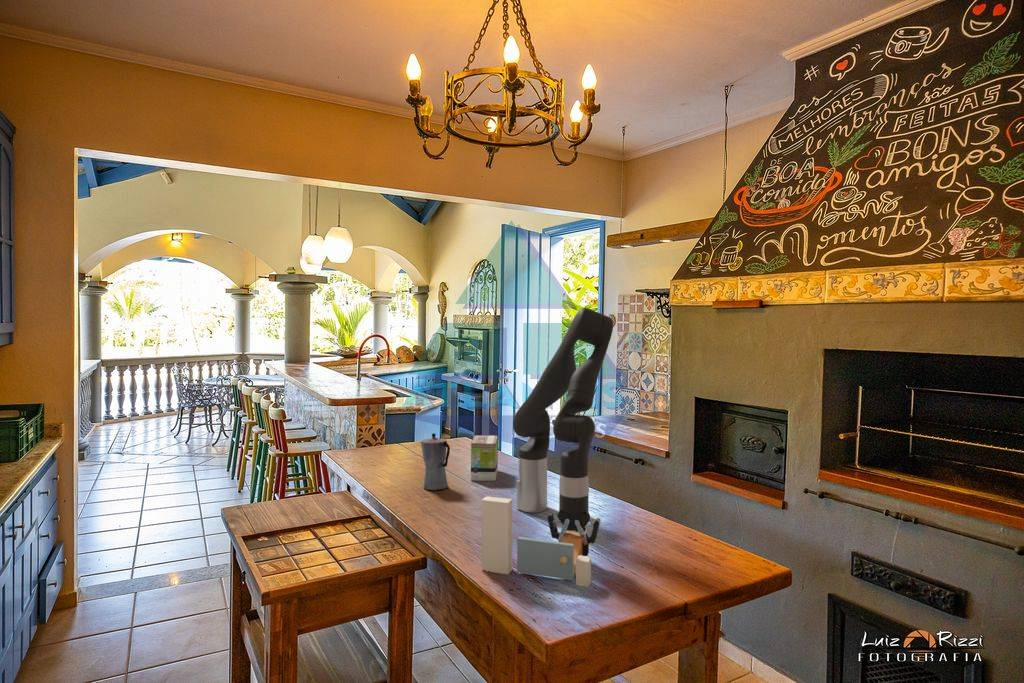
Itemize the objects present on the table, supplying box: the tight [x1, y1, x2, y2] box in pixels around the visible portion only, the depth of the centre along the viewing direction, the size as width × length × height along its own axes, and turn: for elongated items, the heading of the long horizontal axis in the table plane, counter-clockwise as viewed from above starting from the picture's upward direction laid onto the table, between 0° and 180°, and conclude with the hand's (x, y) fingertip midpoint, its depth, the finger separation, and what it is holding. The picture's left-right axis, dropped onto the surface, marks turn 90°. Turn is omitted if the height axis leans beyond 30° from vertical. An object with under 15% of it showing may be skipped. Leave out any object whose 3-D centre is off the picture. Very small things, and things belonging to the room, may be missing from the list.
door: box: [516, 536, 575, 581], centre depth 140 cm, size 14×3×8 cm, turn 71°
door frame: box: [481, 496, 592, 588], centre depth 141 cm, size 27×3×18 cm, turn 71°
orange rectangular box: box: [561, 531, 583, 576], centre depth 147 cm, size 11×5×6 cm, turn 161°
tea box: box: [470, 434, 499, 482], centre depth 227 cm, size 15×10×15 cm
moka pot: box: [420, 432, 451, 491], centre depth 212 cm, size 10×15×20 cm, turn 51°
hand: (573, 555), depth 150 cm, fingers closed on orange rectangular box, 5 cm apart
